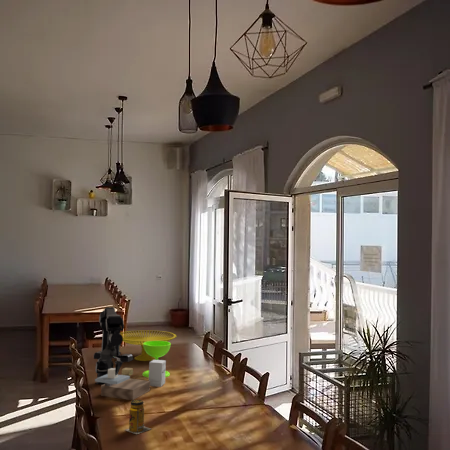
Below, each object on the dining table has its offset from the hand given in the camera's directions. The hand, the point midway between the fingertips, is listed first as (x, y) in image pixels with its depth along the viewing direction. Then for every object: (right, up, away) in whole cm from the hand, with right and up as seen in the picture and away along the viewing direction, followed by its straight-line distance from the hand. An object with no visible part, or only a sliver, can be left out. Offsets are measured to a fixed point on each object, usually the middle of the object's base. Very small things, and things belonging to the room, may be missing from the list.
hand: (112, 374), depth 266 cm
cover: (0, -3, 0) cm, 3 cm away
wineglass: (+14, -15, +54) cm, 58 cm away
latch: (+2, -7, +27) cm, 28 cm away
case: (+4, -14, +16) cm, 21 cm away
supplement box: (+17, -15, +33) cm, 40 cm away
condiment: (+18, -13, -36) cm, 43 cm away
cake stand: (+2, -15, +95) cm, 96 cm away
